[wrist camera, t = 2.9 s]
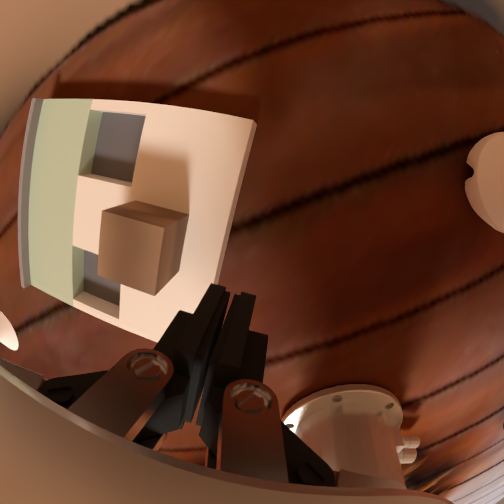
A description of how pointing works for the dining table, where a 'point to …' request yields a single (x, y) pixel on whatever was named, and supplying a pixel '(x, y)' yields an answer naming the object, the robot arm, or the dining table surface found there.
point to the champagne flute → (7, 333)
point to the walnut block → (141, 245)
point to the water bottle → (487, 180)
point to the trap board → (126, 199)
